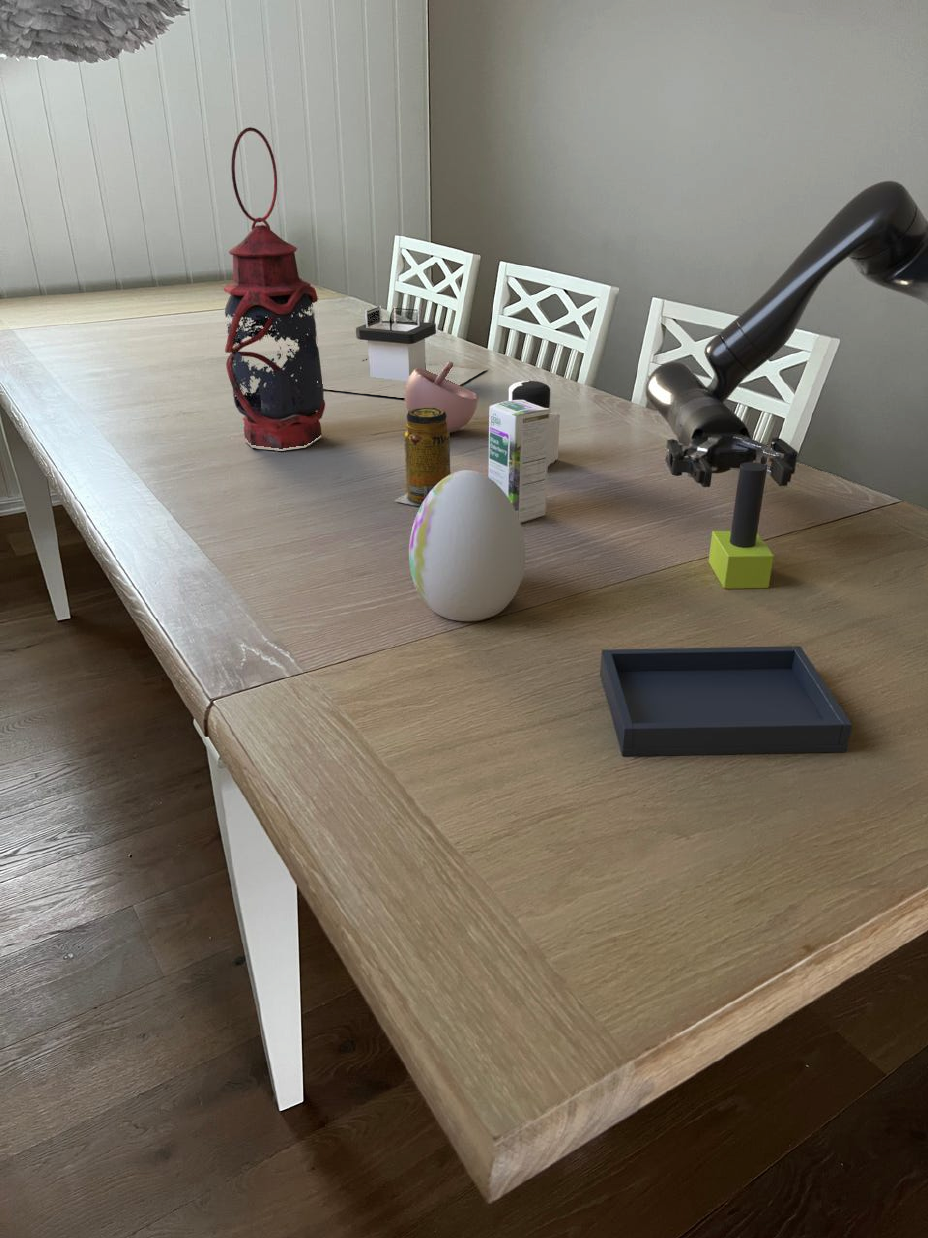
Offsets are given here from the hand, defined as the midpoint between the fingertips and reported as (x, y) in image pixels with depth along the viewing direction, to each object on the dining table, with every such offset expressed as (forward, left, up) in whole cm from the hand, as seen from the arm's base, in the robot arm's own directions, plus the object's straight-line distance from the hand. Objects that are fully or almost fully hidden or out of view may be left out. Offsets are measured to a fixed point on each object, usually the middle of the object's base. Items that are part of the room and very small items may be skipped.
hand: (746, 478), depth 102 cm
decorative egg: (+31, +8, -11) cm, 34 cm away
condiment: (+35, -23, -11) cm, 44 cm away
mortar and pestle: (+34, -53, -11) cm, 64 cm away
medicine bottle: (+21, -37, -11) cm, 44 cm away
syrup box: (+24, -17, -11) cm, 32 cm away
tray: (+10, +29, -11) cm, 32 cm away
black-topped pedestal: (+43, -88, -11) cm, 99 cm away
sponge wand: (0, +2, -11) cm, 11 cm away
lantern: (+60, -50, -11) cm, 79 cm away
